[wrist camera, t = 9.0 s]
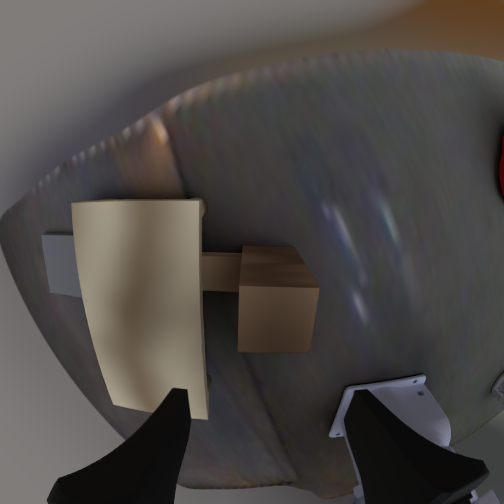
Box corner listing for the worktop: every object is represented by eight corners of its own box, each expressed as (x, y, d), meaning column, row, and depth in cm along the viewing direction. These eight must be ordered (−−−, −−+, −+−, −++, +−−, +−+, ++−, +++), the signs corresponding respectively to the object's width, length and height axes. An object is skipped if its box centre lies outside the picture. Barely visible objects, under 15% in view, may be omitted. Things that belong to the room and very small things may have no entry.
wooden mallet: (294, 247, 19) (319, 287, 12) (290, 294, 19) (309, 352, 13) (94, 240, 18) (36, 270, 11) (99, 283, 19) (49, 326, 12)
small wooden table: (209, 195, 18) (199, 200, 14) (212, 386, 22) (207, 419, 18) (102, 196, 17) (71, 203, 13) (128, 375, 22) (113, 404, 18)
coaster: (96, 231, 19) (87, 236, 17) (103, 292, 20) (95, 299, 19) (51, 231, 18) (41, 234, 17) (59, 286, 20) (50, 292, 18)
